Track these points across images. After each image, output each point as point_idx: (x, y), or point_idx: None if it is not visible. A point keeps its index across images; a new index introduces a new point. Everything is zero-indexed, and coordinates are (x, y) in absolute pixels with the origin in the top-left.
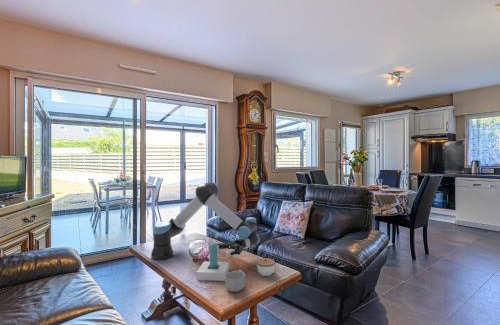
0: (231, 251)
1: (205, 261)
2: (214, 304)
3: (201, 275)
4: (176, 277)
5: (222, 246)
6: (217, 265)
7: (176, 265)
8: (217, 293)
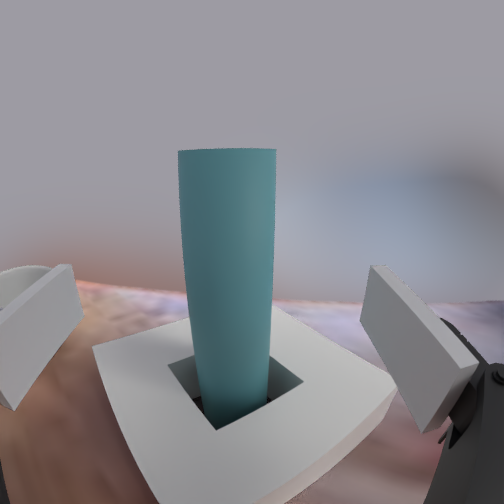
0: (6, 313)
1: (393, 387)
2: (81, 281)
3: None
4: (348, 303)
5: (455, 478)
6: (206, 387)
7: (478, 334)
8: (93, 310)
